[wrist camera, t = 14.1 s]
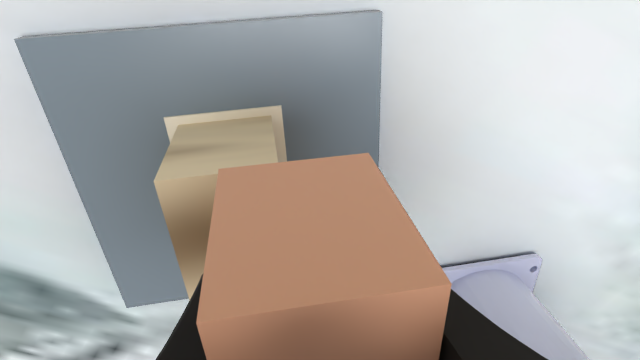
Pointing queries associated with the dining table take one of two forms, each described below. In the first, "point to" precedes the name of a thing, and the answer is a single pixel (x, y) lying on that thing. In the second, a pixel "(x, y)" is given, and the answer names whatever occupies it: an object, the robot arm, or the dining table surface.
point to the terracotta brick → (317, 267)
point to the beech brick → (205, 180)
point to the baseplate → (196, 113)
